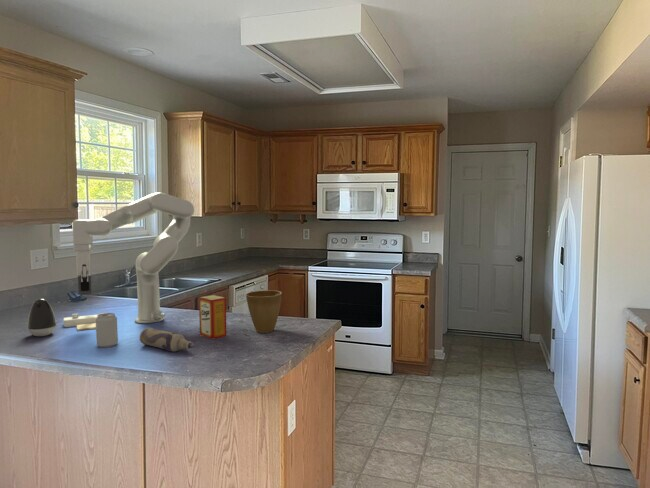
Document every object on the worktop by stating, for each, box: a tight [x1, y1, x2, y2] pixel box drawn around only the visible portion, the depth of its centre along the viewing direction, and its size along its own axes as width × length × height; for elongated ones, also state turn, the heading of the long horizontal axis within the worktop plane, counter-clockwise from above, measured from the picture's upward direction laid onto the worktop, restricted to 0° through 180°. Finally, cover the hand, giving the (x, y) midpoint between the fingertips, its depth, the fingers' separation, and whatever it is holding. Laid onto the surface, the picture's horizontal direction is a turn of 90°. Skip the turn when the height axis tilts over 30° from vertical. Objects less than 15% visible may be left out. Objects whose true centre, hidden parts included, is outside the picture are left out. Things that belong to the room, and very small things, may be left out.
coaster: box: [76, 323, 96, 332], centre depth 216 cm, size 8×8×1 cm
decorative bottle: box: [139, 327, 196, 353], centre depth 182 cm, size 26×8×7 cm, turn 57°
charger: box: [77, 274, 92, 296], centre depth 214 cm, size 5×4×8 cm
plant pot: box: [245, 289, 282, 334], centre depth 208 cm, size 15×15×16 cm
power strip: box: [63, 312, 104, 328], centre depth 224 cm, size 18×6×5 cm, turn 117°
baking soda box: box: [198, 294, 228, 340], centre depth 201 cm, size 10×6×16 cm
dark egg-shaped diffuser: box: [27, 298, 57, 337], centre depth 204 cm, size 10×10×15 cm
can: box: [95, 312, 119, 348], centre depth 188 cm, size 8×8×12 cm
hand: (85, 289), depth 215 cm, fingers closed on charger, 4 cm apart
